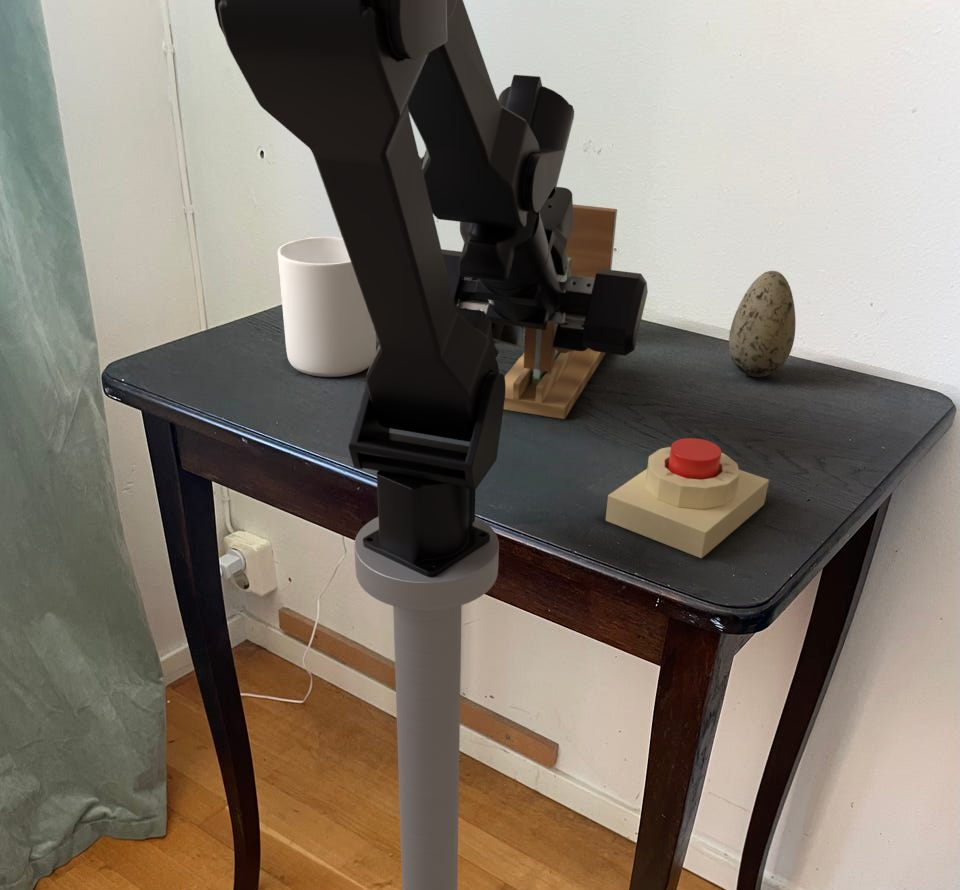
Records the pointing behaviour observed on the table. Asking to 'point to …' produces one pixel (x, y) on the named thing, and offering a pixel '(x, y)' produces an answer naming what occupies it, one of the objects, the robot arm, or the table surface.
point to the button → (694, 458)
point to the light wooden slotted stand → (573, 368)
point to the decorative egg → (763, 326)
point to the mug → (324, 309)
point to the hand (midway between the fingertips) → (542, 344)
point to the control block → (686, 504)
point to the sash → (542, 344)
